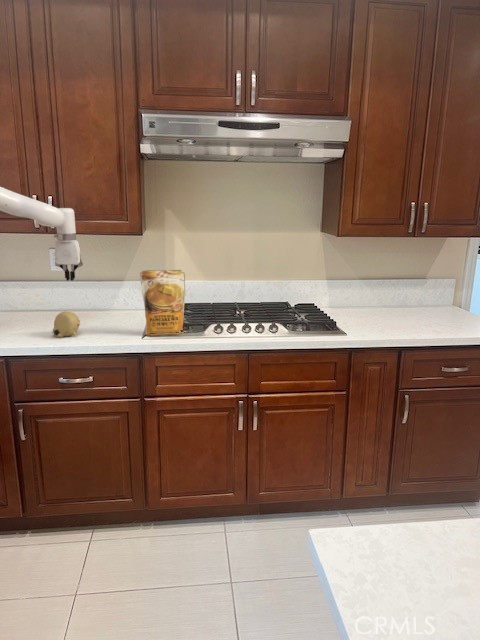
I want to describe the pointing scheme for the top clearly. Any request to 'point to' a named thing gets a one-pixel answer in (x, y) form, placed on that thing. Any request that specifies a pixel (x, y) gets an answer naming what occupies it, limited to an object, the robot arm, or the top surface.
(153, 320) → the pancake mix bag
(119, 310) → the top surface
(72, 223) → the robot arm
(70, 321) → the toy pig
